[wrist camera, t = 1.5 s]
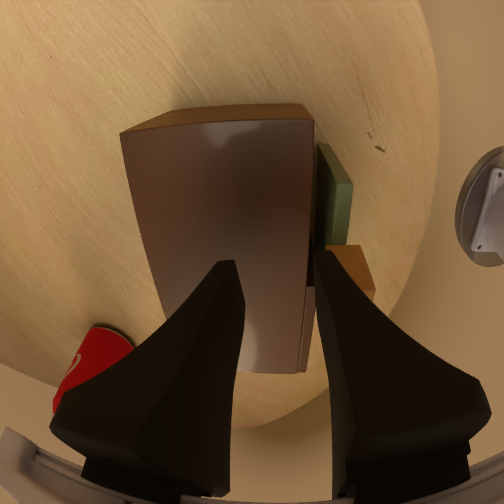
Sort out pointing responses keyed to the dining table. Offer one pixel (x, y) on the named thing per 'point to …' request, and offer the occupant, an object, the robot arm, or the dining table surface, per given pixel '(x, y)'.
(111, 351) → the beverage can
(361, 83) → the dining table surface
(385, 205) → the dining table surface
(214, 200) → the cabinet
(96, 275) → the dining table surface
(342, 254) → the green drawer
